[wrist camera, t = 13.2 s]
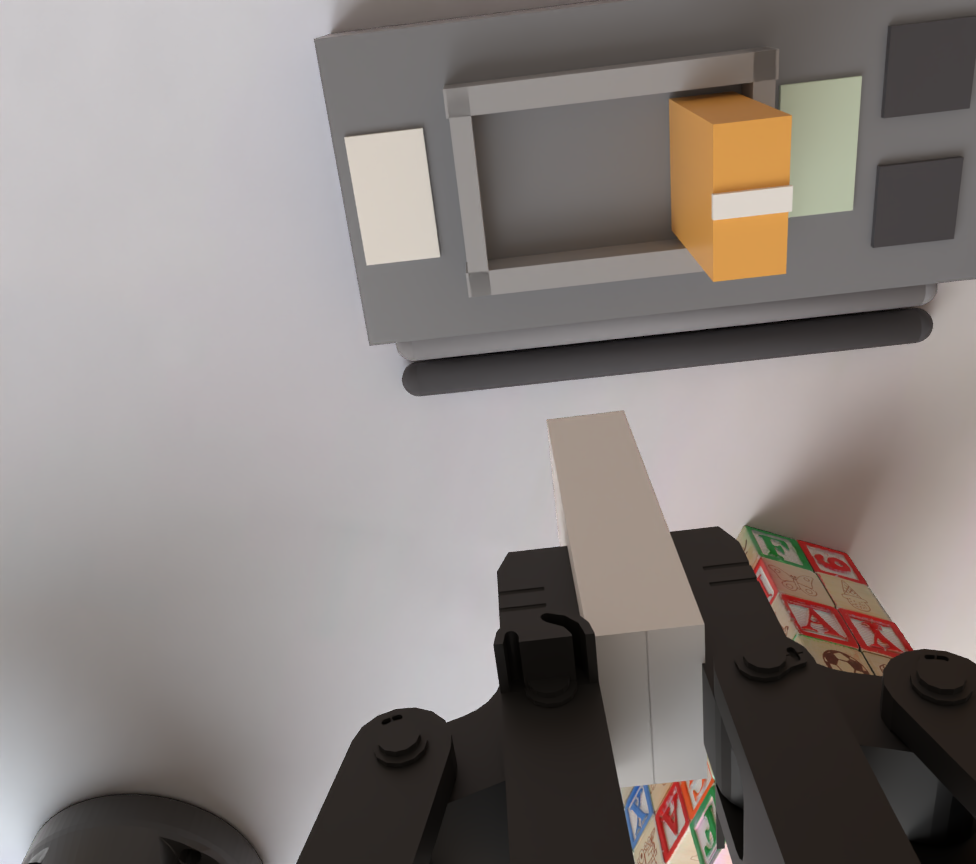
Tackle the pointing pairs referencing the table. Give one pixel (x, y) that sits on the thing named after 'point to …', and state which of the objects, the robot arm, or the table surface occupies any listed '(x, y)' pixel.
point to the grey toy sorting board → (642, 155)
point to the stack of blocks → (808, 621)
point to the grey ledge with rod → (668, 341)
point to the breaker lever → (731, 183)
